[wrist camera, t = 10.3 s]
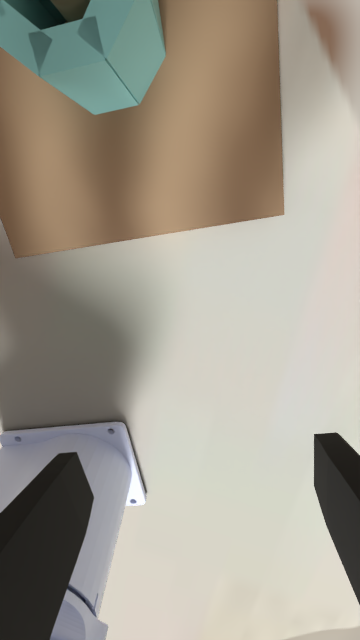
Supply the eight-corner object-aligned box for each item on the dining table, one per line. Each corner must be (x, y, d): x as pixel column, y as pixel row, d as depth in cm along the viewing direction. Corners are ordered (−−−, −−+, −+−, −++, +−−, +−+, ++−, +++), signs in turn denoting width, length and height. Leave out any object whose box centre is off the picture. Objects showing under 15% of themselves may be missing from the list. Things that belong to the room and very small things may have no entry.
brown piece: (25, 254, 17) (-70, 289, 11) (-127, -176, 11) (-506, -595, 5) (279, 213, 16) (328, 228, 10) (258, -321, 10) (355, -1202, 4)
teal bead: (63, 121, 14) (-7, 87, 9) (23, -27, 12) (-89, -163, 7) (172, 97, 13) (156, 47, 9) (148, -64, 11) (111, -238, 7)
